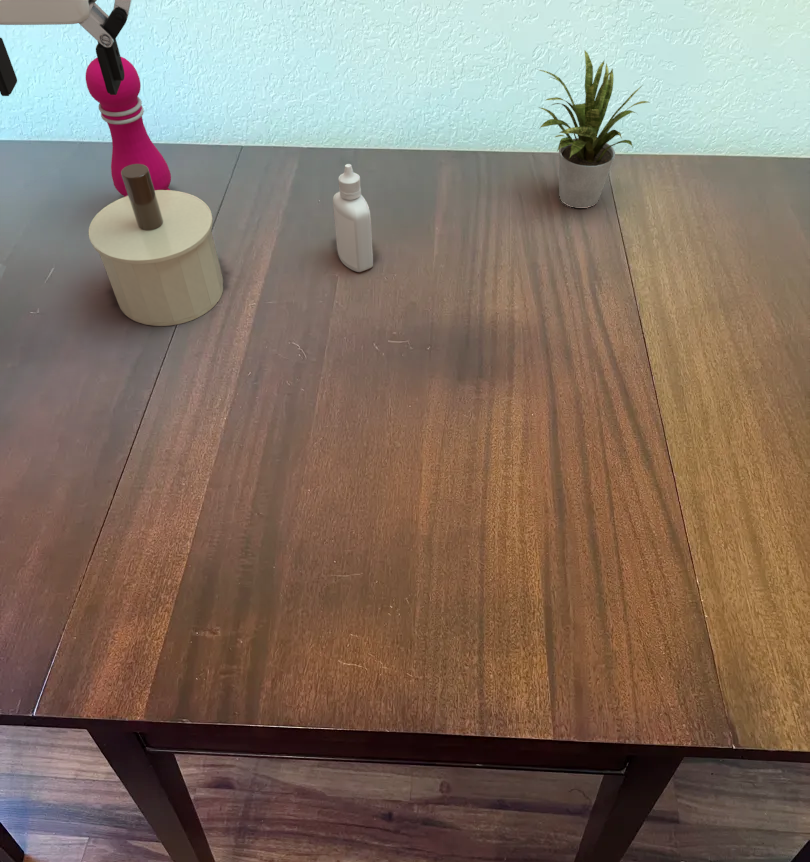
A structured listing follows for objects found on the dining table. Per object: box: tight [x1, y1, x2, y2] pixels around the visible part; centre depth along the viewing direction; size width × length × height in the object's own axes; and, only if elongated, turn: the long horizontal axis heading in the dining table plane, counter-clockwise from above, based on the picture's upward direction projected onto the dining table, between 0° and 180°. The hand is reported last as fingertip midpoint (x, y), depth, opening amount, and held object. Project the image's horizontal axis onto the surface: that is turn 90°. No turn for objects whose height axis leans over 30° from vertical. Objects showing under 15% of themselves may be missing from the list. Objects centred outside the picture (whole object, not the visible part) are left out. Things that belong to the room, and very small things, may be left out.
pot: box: [98, 230, 224, 327], centre depth 89 cm, size 12×12×8 cm
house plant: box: [537, 50, 651, 207], centre depth 97 cm, size 14×14×16 cm
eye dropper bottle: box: [332, 163, 374, 273], centre depth 91 cm, size 4×6×12 cm
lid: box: [88, 164, 214, 264], centre depth 84 cm, size 13×13×7 cm
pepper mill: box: [85, 43, 172, 197], centre depth 95 cm, size 7×7×20 cm
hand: (62, 88), depth 73 cm, fingers open, 9 cm apart
